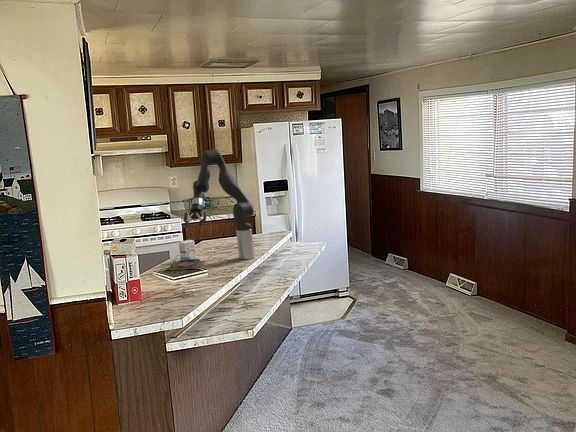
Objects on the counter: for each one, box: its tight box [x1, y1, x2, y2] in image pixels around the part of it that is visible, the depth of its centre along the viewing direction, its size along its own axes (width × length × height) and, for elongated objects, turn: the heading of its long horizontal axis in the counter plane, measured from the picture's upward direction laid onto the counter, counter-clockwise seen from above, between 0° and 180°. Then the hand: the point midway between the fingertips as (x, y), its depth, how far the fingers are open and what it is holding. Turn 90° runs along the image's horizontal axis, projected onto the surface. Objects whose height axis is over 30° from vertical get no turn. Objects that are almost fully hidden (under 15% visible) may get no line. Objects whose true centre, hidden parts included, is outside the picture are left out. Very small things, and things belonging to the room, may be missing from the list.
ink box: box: [178, 239, 197, 260], centre depth 319 cm, size 9×5×12 cm, turn 143°
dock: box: [165, 258, 207, 270], centre depth 304 cm, size 18×18×4 cm
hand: (193, 226), depth 332 cm, fingers open, 8 cm apart
